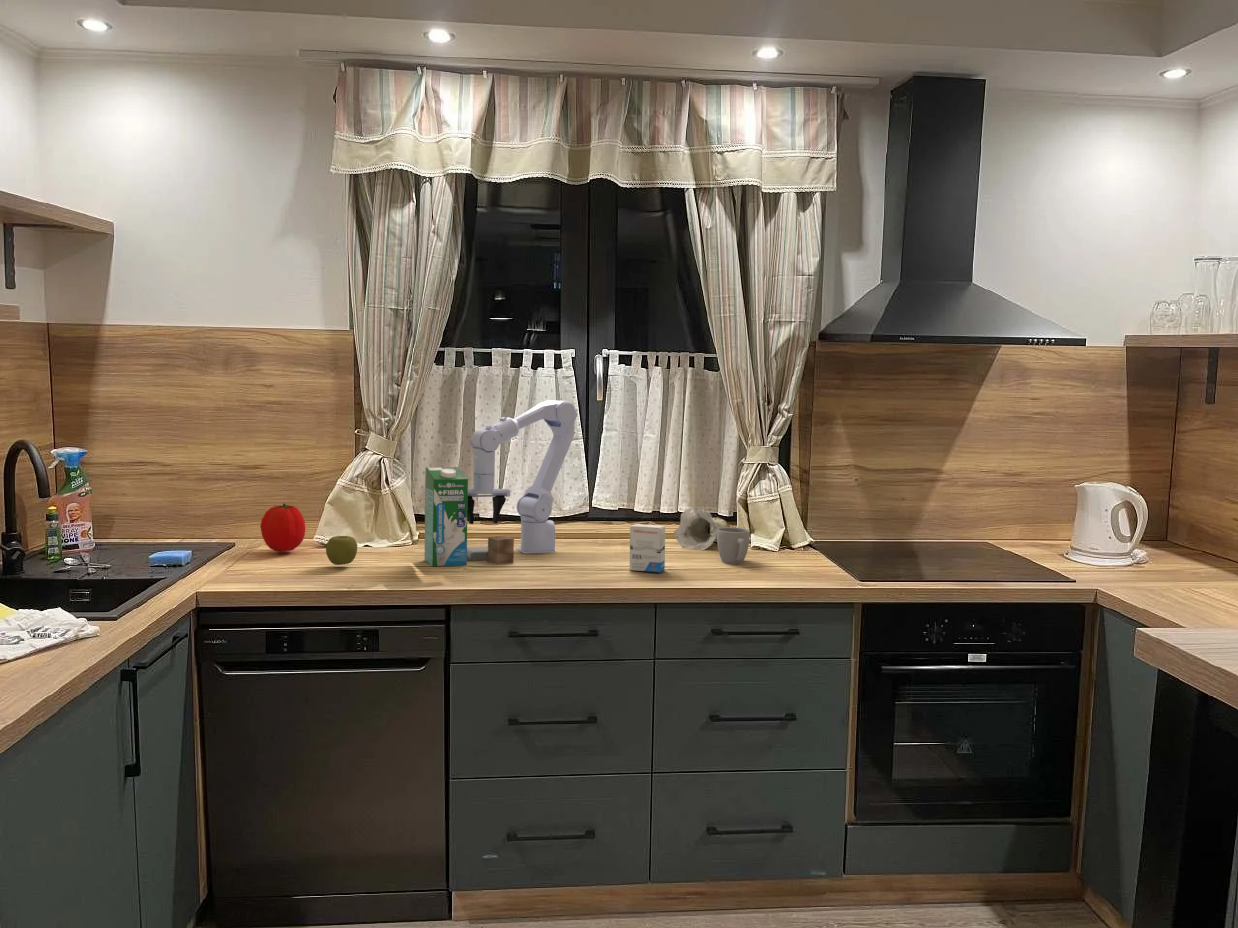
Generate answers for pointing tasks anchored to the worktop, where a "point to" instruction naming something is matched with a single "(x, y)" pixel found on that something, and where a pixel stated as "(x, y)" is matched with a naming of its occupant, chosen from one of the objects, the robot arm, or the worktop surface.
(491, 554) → the walnut block
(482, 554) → the coaster block
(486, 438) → the robot arm
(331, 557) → the apple
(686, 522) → the wavy rim vase
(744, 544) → the mug
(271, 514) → the tomato
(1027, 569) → the worktop surface
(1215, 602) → the worktop surface
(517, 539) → the worktop surface
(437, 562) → the milk carton
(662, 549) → the ink box
